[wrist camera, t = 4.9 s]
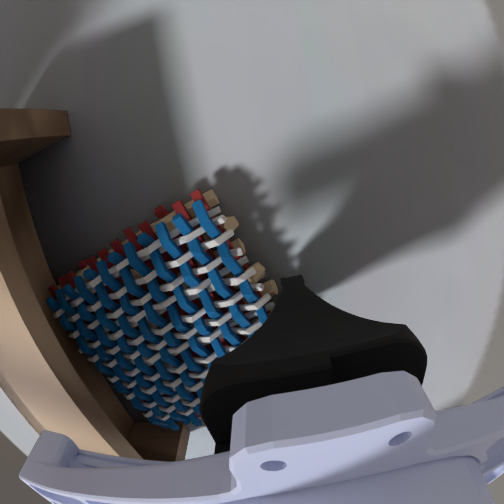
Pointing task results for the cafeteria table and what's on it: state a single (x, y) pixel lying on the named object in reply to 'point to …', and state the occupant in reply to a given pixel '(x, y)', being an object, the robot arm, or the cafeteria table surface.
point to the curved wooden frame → (55, 323)
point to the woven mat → (165, 307)
